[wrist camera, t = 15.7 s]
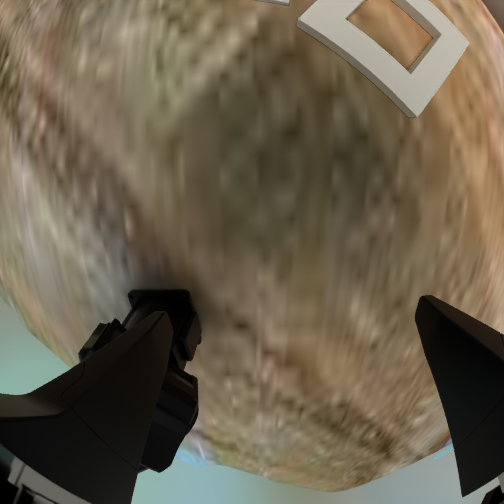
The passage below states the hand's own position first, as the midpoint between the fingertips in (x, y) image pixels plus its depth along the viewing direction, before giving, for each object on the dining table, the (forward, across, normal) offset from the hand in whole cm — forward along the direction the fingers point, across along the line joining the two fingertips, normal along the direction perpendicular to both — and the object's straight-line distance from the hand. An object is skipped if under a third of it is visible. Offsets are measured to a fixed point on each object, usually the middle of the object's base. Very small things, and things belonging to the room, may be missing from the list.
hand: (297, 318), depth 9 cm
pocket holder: (+13, -10, -15) cm, 22 cm away
